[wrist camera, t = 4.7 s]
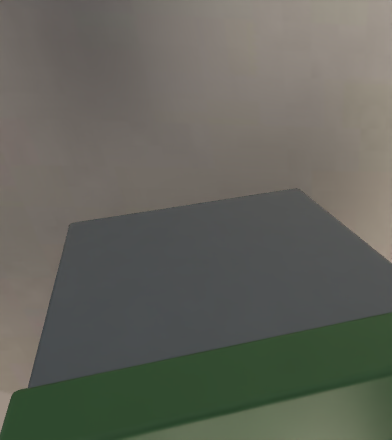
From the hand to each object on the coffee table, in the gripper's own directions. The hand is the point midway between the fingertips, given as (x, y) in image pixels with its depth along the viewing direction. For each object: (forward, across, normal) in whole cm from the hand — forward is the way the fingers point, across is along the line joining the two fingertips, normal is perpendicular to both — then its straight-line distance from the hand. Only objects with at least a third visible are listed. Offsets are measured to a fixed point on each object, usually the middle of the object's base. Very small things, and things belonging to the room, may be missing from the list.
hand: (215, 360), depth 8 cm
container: (+2, 0, 0) cm, 2 cm away
